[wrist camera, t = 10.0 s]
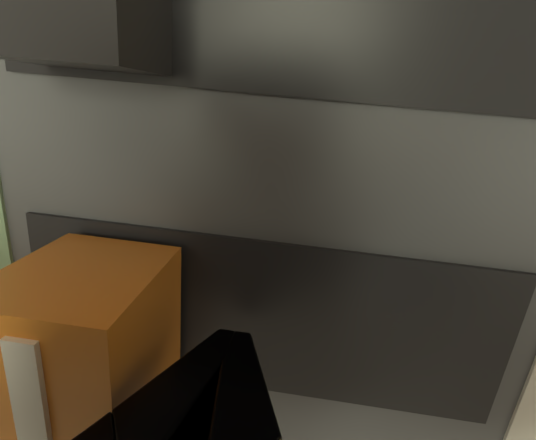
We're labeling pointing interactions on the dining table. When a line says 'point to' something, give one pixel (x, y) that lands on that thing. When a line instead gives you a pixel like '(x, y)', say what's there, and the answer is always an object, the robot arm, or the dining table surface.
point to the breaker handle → (83, 331)
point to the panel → (302, 189)
